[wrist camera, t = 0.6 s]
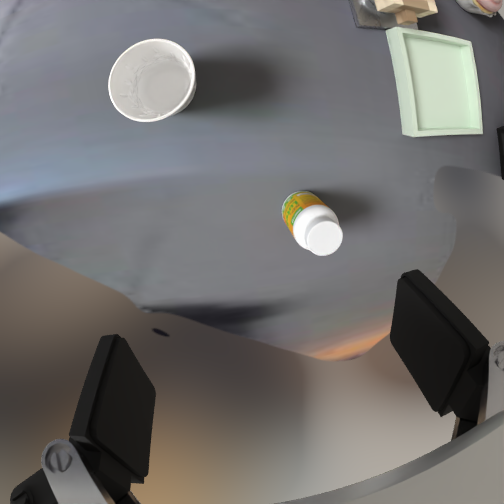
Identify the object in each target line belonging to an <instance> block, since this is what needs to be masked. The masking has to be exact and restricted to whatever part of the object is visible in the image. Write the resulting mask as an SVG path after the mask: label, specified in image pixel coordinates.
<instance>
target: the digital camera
mask: <svg viewBox="0 0 504 504" xmlns="http://www.w3.org/2000/svg"><path fill="white" fill-rule="evenodd" d="M497 133H498V141H499V150H500V161H501V174H502V179H503V180H504V126H503V127H500V128H497Z"/></svg>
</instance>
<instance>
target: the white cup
mask: <svg viewBox="0 0 504 504" xmlns="http://www.w3.org/2000/svg"><path fill="white" fill-rule="evenodd" d="M195 90H196V74H195V68H194V64H193V61H192V59H191V57H190V55H189V54H188V53H187V51H186V50H185V49H184V48H183V47H181V46H180V45H178V44H177V43H175V42H172V41H169V40H165V39H150V40H145V41H142V42H139V43H137V44H135V45H133V46H131V47H130V48H128V49H127V50H126V51H125V52H124V53H123V54H122V55H121V56H120V57H119V58H118V59H117V61H116V62H115V64H114V66H113V68H112V70H111V73H110V77H109V94H110V98H111V100H112V102H113V104H114V106H115V107H116V108H117V110H118V111H119V112H120V113H122V114H123V115H124V116H126V117H128V118H130V119H132V120H136V121H141V122H152V121H157V120H161V119H164V118H167V117H170V116H172V115H175V114H177V113H179V112H180V111H182V110H183V109H184V108H186V107H187V106H188V104H189V103H190V102H191V100H192V99H193V98H194V94H195Z"/></svg>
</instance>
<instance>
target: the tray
mask: <svg viewBox="0 0 504 504" xmlns="http://www.w3.org/2000/svg"><path fill="white" fill-rule="evenodd" d="M386 34H387V39H388V43H389V48H390V52H391V57H392V62H393V67H394V73H395V79H396V85H397V91H398V98H399V106H400V114H401V123H402V133H403V135H407V136H412V137H421V136H436V135H459V134H483V131H482V114H481V102H480V93H479V85H478V78H477V71H476V65H475V60H474V54H473V49H472V45H471V42H470V41H467V40H463V39H459V38H455V37H451V36H446V35H442V34H437V33H432V32H427V31H421V30H415V29H409V28H402V27H394V28H391V29H388V30H386Z"/></svg>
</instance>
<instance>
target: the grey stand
mask: <svg viewBox="0 0 504 504" xmlns="http://www.w3.org/2000/svg"><path fill="white" fill-rule="evenodd" d="M349 3H350V7H351V10H352V14H353V17H354V21H355V25H356V27H361V28H376V29H387V30H388V29H391V28H394V27H402V28H409V29H415V30H418V26H417V23H414V24H410V25H401V24H398V23H397V19H396V16H395V13H388V12H380V11H377V8H376V4H375V1H374V0H349Z"/></svg>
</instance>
